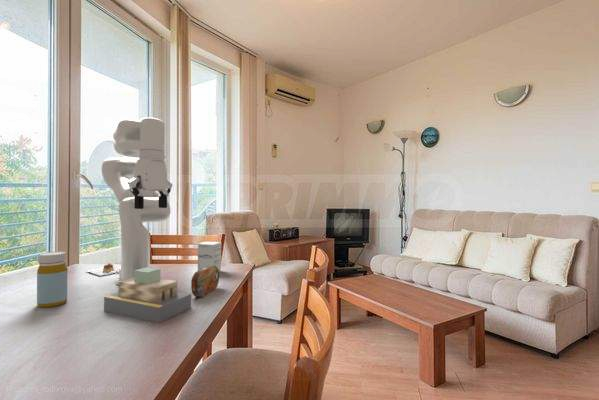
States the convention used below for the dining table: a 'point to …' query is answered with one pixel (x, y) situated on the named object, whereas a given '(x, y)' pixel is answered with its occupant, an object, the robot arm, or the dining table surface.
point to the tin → (205, 281)
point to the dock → (147, 307)
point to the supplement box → (209, 255)
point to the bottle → (52, 279)
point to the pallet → (148, 290)
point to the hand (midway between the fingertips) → (151, 208)
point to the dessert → (105, 269)
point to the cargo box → (147, 275)
